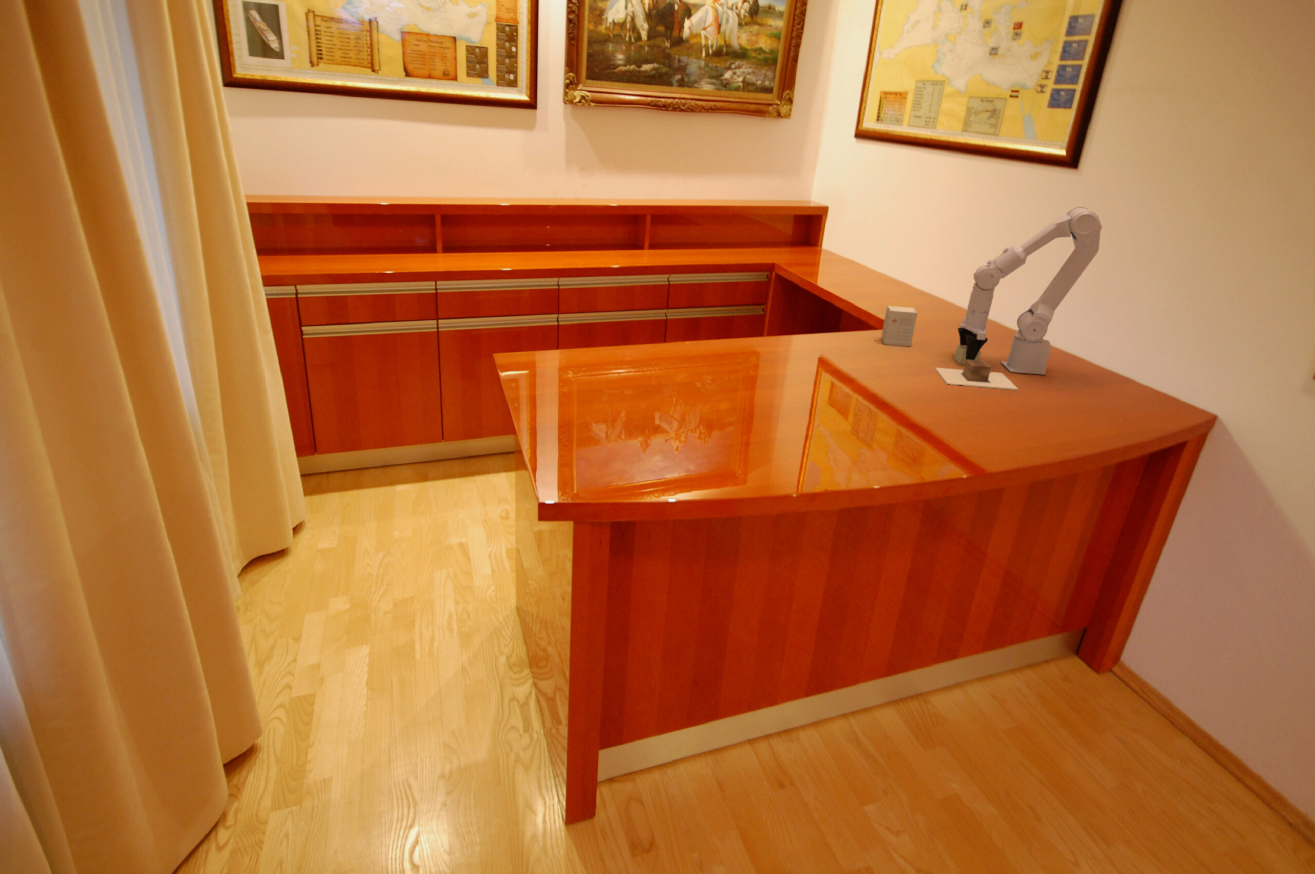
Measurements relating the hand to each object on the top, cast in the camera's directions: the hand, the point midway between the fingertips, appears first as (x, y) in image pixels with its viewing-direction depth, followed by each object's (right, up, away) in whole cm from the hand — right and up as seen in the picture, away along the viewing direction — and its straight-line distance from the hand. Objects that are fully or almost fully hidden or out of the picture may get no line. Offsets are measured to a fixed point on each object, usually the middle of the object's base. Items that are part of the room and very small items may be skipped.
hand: (966, 356), depth 211 cm
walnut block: (-3, -7, -13) cm, 15 cm away
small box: (-16, +5, +13) cm, 21 cm away
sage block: (0, -1, +1) cm, 1 cm away
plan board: (-3, -7, -13) cm, 15 cm away
